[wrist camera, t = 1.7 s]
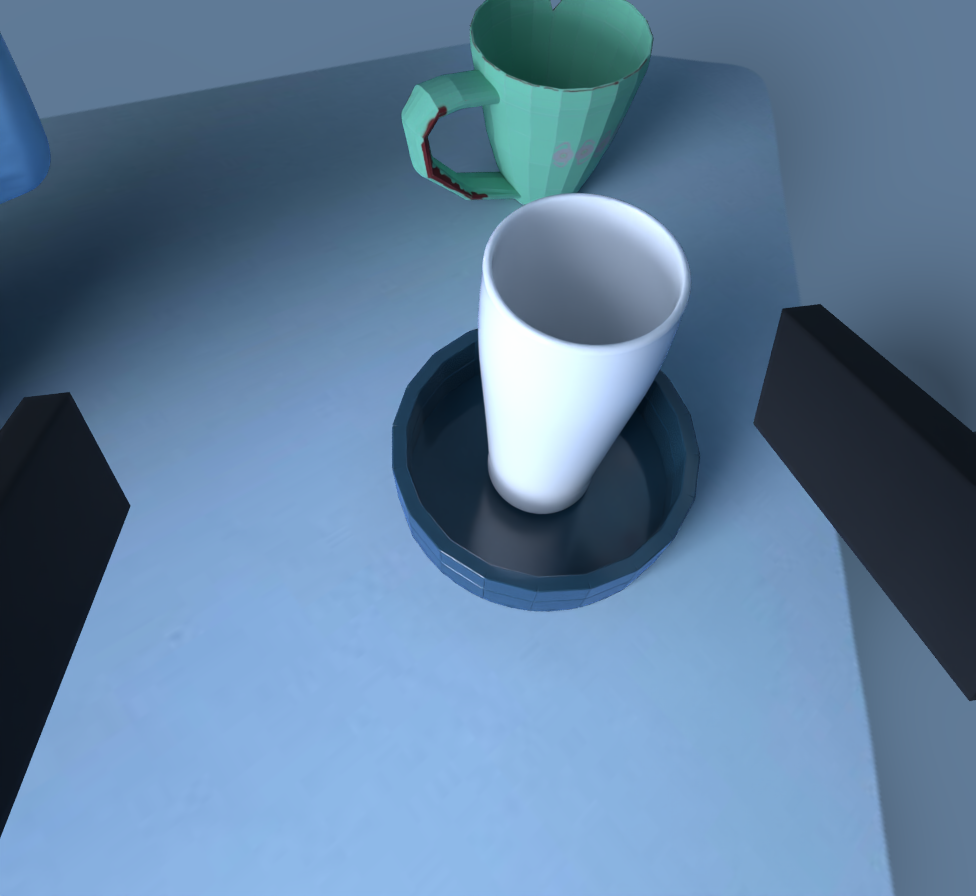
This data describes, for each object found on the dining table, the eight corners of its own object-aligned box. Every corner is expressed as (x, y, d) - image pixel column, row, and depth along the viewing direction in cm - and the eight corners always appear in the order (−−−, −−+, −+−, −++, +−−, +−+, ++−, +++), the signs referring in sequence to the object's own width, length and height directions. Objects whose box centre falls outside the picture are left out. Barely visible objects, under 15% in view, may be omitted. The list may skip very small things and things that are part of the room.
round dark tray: (343, 453, 35) (331, 419, 31) (547, 317, 39) (555, 274, 36) (525, 677, 30) (532, 663, 27) (734, 491, 34) (762, 461, 31)
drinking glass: (588, 406, 36) (662, 181, 23) (618, 522, 33) (724, 341, 20) (464, 420, 35) (465, 196, 22) (483, 540, 32) (498, 365, 19)
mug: (557, 116, 47) (579, -39, 38) (645, 201, 44) (692, 51, 35) (377, 192, 43) (355, 38, 34) (457, 292, 40) (455, 149, 31)
